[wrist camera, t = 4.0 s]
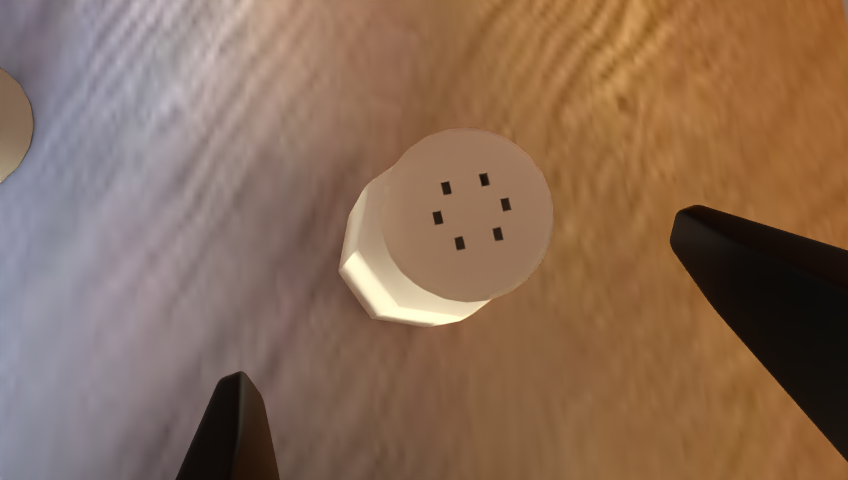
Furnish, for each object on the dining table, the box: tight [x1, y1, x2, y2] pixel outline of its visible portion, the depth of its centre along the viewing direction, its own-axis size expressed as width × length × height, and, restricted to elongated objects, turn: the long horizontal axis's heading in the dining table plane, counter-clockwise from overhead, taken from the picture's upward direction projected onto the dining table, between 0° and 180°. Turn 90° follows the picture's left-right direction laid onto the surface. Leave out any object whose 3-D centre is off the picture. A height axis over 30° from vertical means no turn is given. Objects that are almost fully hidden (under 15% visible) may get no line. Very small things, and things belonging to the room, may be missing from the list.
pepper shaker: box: [338, 128, 554, 327], centre depth 13 cm, size 5×5×11 cm
